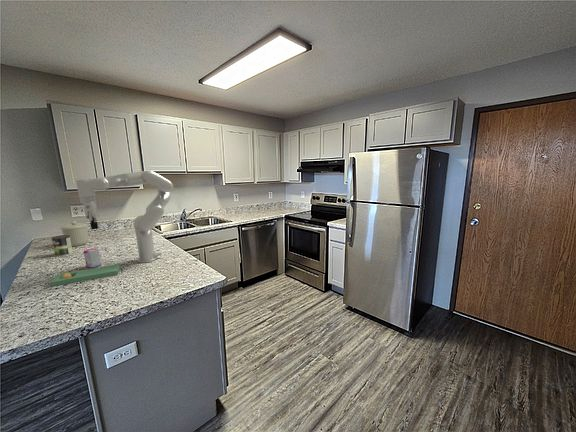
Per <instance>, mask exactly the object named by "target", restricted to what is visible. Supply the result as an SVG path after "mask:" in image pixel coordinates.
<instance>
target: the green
mask: <svg viewBox="0 0 576 432" xmlns="http://www.w3.org/2000/svg"><path fill="white" fill-rule="evenodd" d="M120 270H121V264H120V263H118V264H113V265H107V266H102V267H94V268H87V269H84V270H83V269H81V270H76V271H70V272H68V273H69V274H71V275H72V277H69V278H63V279H62V276H63V275H64V274H66V273H67V272H64V273H59V274H57V275H56V276H55V277H54V278H53V279H52V280H51V281H50V282H49V283H50V287H57V286H60V285H61V286H62V285H68V284H72V283H79V282H84V281H89V280H95V279H96V280H97V279H100V278H106V277H112V276H117V275H119V273H120Z"/></svg>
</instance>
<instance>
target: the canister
mask: <svg viewBox="0 0 576 432" xmlns="http://www.w3.org/2000/svg"><path fill="white" fill-rule="evenodd" d="M88 228H89V224H87V223H78V221H75V220H73V221H71V224H66V225H64V226H62V227H60V230H61V231H62V234H63V235H70V240H71V245H72V247H80V246H83V245H87V243H88V241H89V233H88V232H89V231H88Z"/></svg>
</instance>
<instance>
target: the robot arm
mask: <svg viewBox="0 0 576 432" xmlns="http://www.w3.org/2000/svg"><path fill="white" fill-rule="evenodd" d="M75 184H76V188H77V192H78V193H77V194H78V197H79V202H80V203H82V205H83V211H84V214H85V217H86V219H88V220H89V224H90V228H91V230H97V229H99V224H98V221H97V218H98V217H99V216H100V212H99V209H98V206H97V203H96V202H97V196H96V191H105V190H107V189H112V188H119V187H120V188H121V187H122V188H123V187H134V186H139V185H140V186H141V185H146V184H147V185H148V184H149V185H151V186H152V187H155V189H156V188H157V191H158V192H157V194H156V196H155V197H154V199H152V201H151V202H150V203H149V204H148V205H147V206H146V208H145V213H144V214H142V215H139V216H137V217H136V218H134V221H133V227H134V231H135V237H136V244H137V252H138V258H136V261H137V263H141V264H143V263H149V262H153V261H156V260H157V259H158V257H159V256H162V255H163V254H162V252H160V251H158V252H156V251H155V247H154V239H153V232H152V231H153V230H152V229H153V228H154V227H155V226H156V225H157V224H158V222H160V220H161V219H162V218H163V216H164V214H165V207H166V206H167V205H168V203H169V201H171V198H172V191H173V189H174V184H173V182H171V180H169V179H167V178H165V177H164V176H162V175H160V174H158V173H156V172H155V171H153V170H143V171H133V172H126V173H122V174H117V175H115V174H114V175H109V176H108V175H107V176H101V177H96V178H78V179H76V180H75Z"/></svg>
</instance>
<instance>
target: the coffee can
mask: <svg viewBox="0 0 576 432" xmlns="http://www.w3.org/2000/svg"><path fill="white" fill-rule="evenodd" d="M50 239H51V242H52V243H51V244H52V246H53V253H54V257H56V258H57V257H58V258H59V257H66V256H70V255H73V254H74V251H73V246H72V245H71V240H70V235H57V236H53V237H51V238H50Z"/></svg>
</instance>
